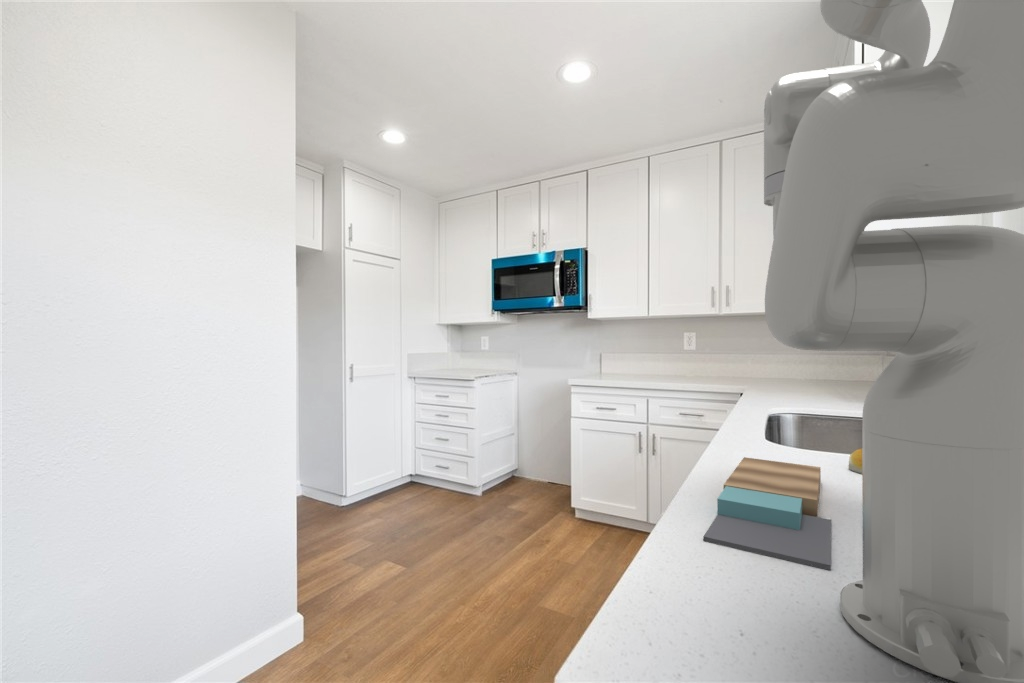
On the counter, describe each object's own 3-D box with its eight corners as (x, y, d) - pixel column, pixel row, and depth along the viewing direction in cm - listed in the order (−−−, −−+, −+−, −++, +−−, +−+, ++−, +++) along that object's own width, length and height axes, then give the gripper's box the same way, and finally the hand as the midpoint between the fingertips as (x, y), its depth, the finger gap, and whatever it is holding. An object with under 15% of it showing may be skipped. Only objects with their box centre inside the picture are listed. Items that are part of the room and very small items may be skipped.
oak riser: (817, 519, 59) (817, 499, 59) (723, 502, 65) (723, 484, 65) (820, 482, 73) (820, 467, 73) (744, 471, 80) (744, 457, 80)
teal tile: (799, 530, 54) (799, 513, 54) (717, 514, 59) (717, 498, 59) (802, 514, 59) (802, 498, 59) (726, 500, 64) (725, 486, 64)
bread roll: (917, 484, 73) (917, 459, 73) (847, 474, 79) (847, 451, 79) (913, 472, 80) (913, 449, 80) (849, 463, 85) (849, 442, 85)
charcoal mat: (830, 570, 46) (830, 565, 46) (703, 540, 53) (703, 536, 53) (831, 523, 57) (831, 519, 57) (726, 504, 64) (726, 500, 64)
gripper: (825, 169, 58) (825, 314, 59) (823, 197, 71) (823, 316, 71) (758, 180, 63) (758, 315, 63) (768, 205, 75) (768, 318, 75)
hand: (793, 316), depth 67 cm, fingers closed
